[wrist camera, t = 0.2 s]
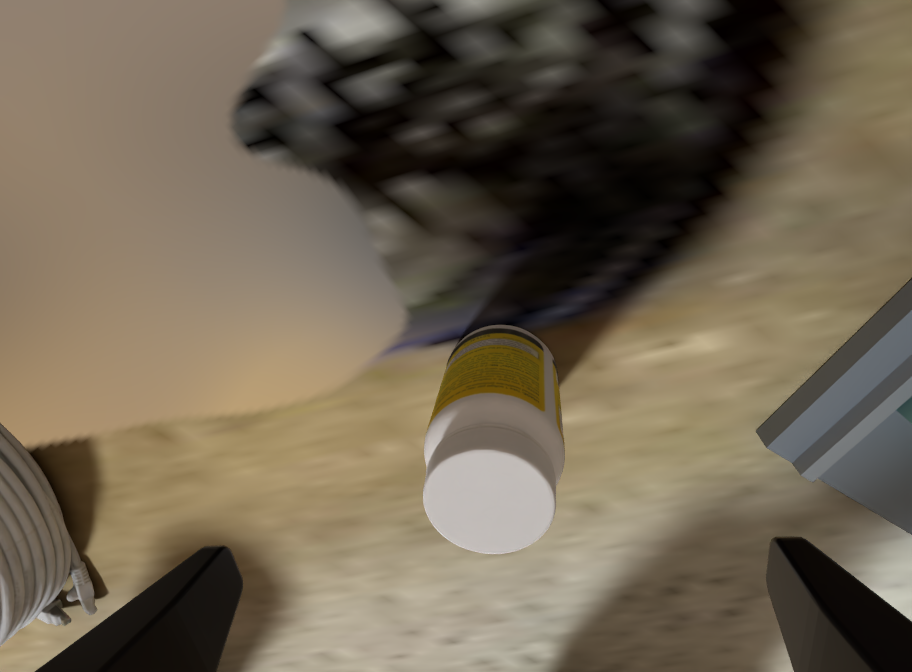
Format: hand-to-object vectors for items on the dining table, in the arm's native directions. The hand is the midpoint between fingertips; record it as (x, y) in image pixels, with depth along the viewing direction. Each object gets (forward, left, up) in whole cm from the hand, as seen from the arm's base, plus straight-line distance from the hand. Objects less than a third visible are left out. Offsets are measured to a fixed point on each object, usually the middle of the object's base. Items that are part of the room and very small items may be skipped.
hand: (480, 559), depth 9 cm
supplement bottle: (-4, +1, -15) cm, 15 cm away
